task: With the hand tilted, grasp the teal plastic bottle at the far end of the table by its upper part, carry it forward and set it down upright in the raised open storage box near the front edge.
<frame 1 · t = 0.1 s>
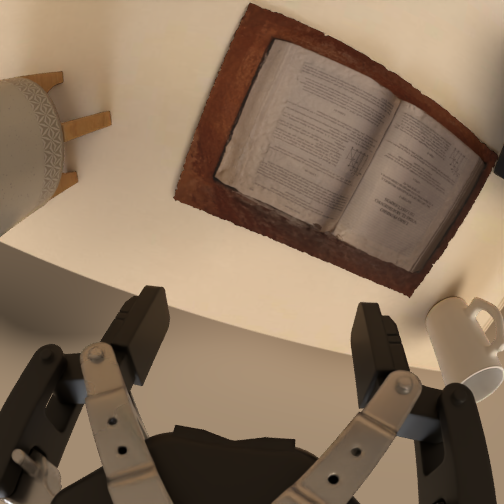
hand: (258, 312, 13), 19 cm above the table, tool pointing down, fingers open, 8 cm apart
book: (350, 162, 28), on the table
planter: (64, 127, 29), on the table
mug: (452, 305, 34), on the table
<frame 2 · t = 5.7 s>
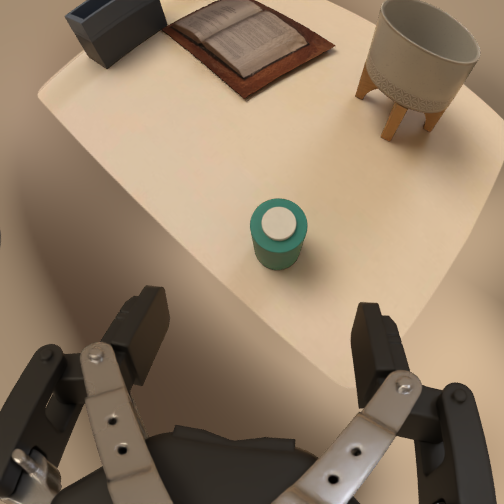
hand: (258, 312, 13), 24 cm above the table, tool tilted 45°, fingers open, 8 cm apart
plastic bottle: (277, 247, 39), on the table
open storage box: (127, 40, 51), on the table
book: (240, 36, 49), on the table
planter: (394, 111, 43), on the table
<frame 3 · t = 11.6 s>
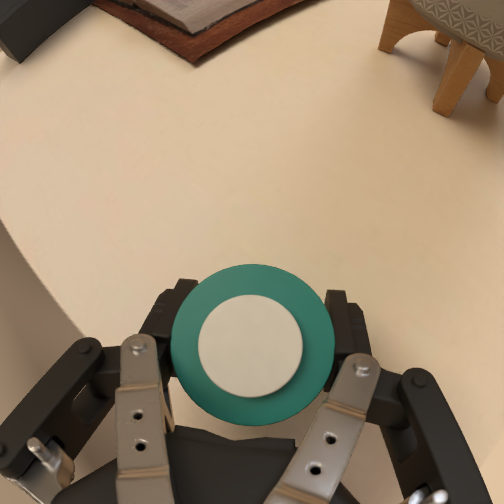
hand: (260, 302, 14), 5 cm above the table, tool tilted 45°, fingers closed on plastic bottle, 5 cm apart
plastic bottle: (262, 343, 18), on the table, touching gripper
open storage box: (50, 25, 32), on the table
planter: (440, 71, 23), on the table
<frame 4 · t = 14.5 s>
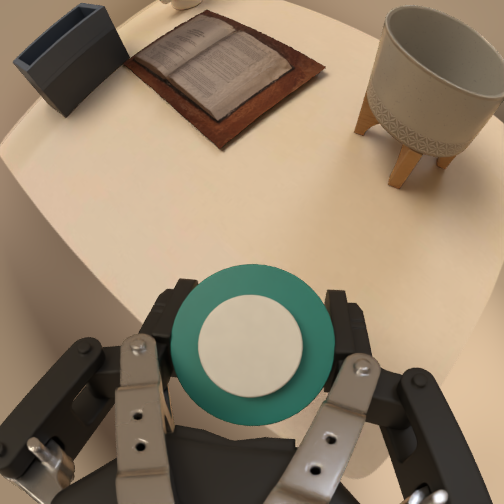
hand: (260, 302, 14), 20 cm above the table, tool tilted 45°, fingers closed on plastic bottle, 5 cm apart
plastic bottle: (262, 343, 18), point 14 cm above the table, touching gripper
open storage box: (86, 79, 45), on the table
book: (212, 64, 43), on the table
planter: (401, 146, 37), on the table
mug: (181, 6, 49), on the table
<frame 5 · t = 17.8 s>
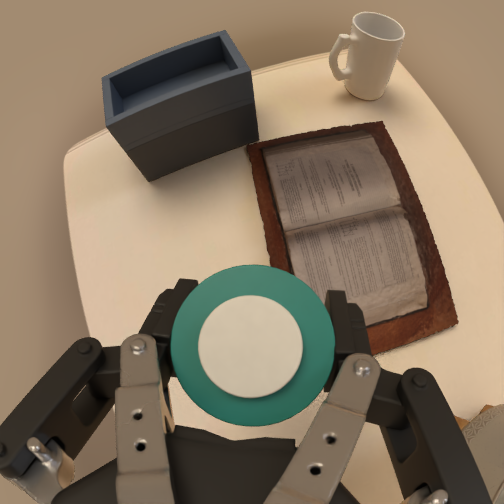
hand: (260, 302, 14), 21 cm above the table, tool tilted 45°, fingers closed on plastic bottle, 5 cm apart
plastic bottle: (262, 343, 18), point 16 cm above the table, touching gripper
open storage box: (194, 135, 41), on the table
book: (348, 231, 36), on the table
planter: (453, 445, 28), on the table
mug: (354, 88, 42), on the table
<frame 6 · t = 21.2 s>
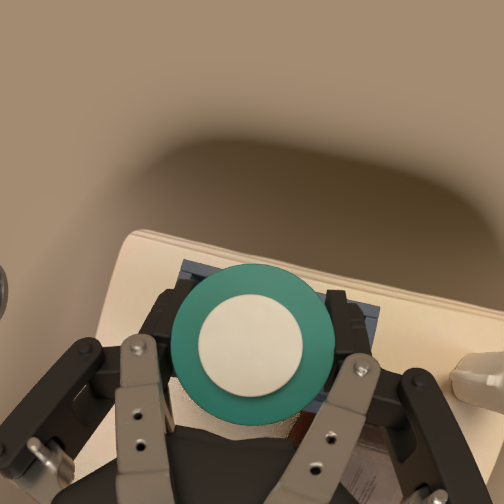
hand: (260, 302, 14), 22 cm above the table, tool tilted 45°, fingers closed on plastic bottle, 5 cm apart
plastic bottle: (262, 343, 18), point 17 cm above the table, touching gripper
open storage box: (270, 340, 34), on the table
mug: (460, 376, 31), on the table
when the fingers open (14 cm above the table, at t = 24.0 s): plastic bottle stays where it is, resting on open storage box.
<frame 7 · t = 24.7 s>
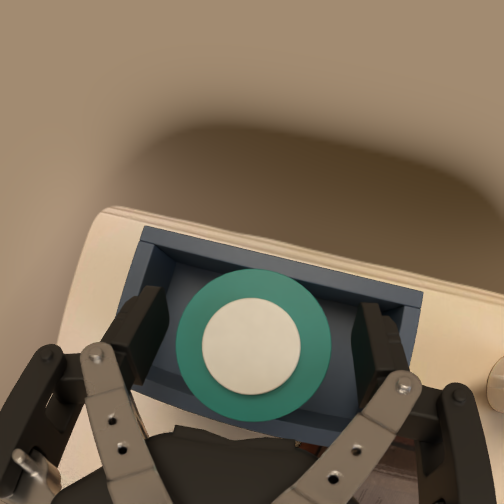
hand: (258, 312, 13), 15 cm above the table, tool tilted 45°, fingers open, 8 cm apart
plastic bottle: (263, 343, 19), point 8 cm above the table, touching open storage box
open storage box: (268, 341, 27), on the table
mug: (495, 381, 24), on the table
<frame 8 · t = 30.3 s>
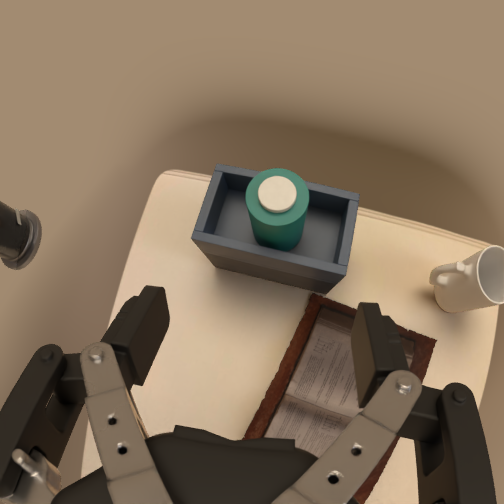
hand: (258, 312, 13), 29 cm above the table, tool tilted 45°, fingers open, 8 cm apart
plastic bottle: (277, 228, 35), point 8 cm above the table, touching open storage box
open storage box: (278, 249, 43), on the table
book: (334, 415, 37), on the table
mug: (441, 289, 40), on the table
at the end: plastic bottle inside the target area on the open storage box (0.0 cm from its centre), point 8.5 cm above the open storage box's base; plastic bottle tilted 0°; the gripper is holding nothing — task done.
